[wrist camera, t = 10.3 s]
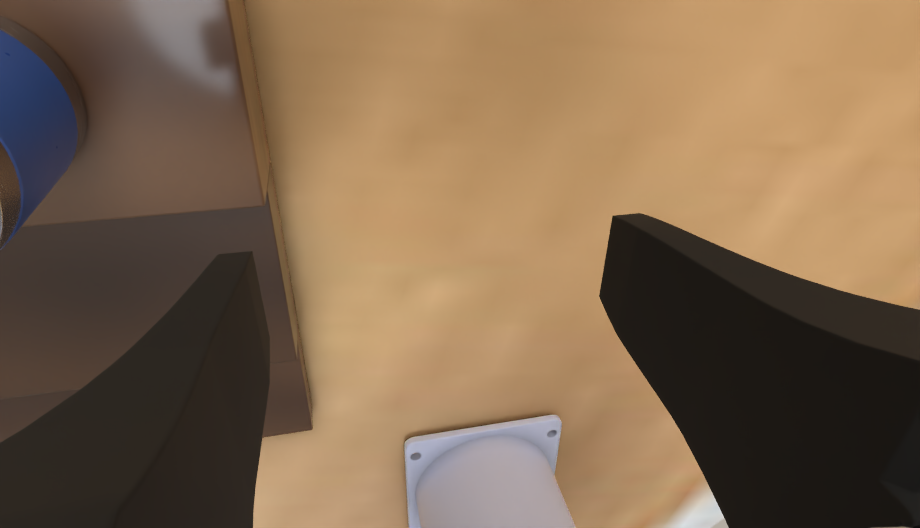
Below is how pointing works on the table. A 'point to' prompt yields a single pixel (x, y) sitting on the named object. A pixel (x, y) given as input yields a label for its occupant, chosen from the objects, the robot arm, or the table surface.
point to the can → (34, 123)
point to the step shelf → (144, 201)
